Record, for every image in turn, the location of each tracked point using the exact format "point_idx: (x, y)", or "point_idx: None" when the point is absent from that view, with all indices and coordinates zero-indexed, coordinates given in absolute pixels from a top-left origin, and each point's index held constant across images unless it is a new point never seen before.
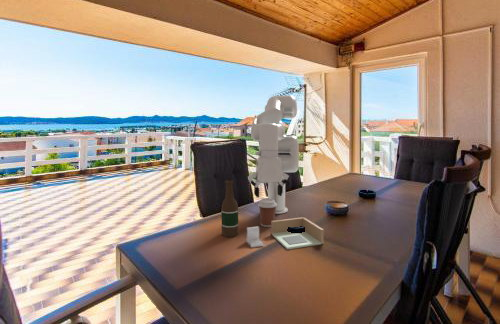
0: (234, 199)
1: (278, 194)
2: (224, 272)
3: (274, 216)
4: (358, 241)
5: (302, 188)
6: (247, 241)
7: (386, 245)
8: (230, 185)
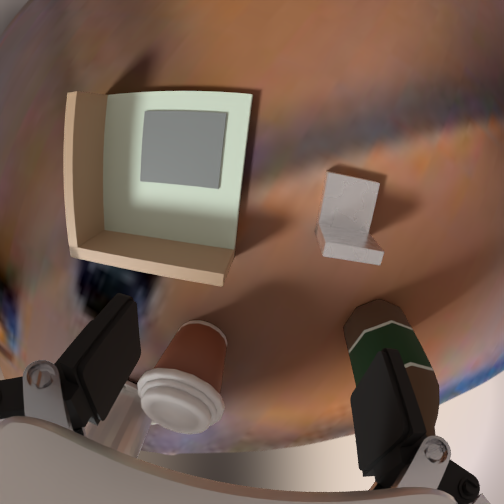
0: None
1: (137, 337)
2: (495, 91)
3: (169, 345)
4: (24, 94)
5: None
6: (366, 230)
7: (3, 63)
8: None
